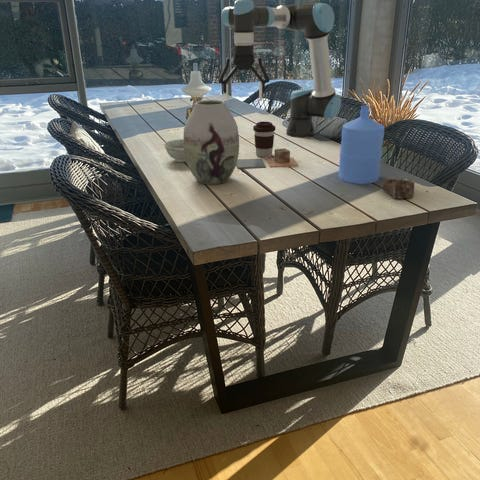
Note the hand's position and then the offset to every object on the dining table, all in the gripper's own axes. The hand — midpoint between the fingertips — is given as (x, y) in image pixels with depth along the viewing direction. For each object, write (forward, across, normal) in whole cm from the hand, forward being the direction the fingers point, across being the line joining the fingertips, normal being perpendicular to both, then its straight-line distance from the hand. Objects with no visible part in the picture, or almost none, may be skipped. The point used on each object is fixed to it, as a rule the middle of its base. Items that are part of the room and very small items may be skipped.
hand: (243, 100), depth 198 cm
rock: (+29, -51, +47) cm, 75 cm away
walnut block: (+26, -17, -2) cm, 31 cm away
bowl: (+28, +26, -13) cm, 40 cm away
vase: (+28, +14, +17) cm, 36 cm away
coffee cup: (+27, -11, -15) cm, 33 cm away
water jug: (+27, -43, +24) cm, 56 cm away
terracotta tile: (+27, -17, -2) cm, 32 cm away
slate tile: (+27, -3, -2) cm, 27 cm away
